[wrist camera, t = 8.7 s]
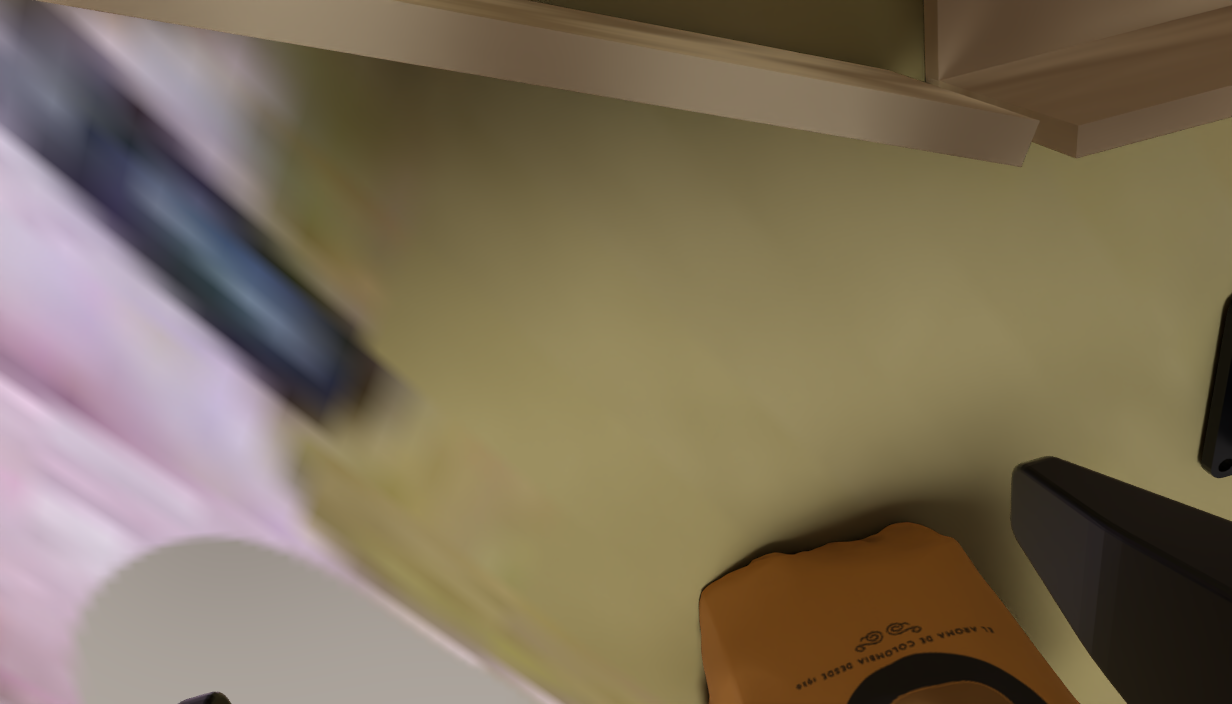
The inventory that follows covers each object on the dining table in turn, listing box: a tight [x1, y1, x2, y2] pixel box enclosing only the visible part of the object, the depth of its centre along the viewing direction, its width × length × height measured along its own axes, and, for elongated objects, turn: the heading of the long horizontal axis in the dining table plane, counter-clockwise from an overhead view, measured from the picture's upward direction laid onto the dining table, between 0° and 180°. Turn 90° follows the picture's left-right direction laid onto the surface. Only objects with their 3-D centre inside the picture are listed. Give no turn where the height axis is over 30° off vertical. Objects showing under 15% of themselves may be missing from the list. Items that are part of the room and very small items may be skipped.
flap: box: [36, 0, 1040, 167], centre depth 15 cm, size 17×1×6 cm, turn 79°
